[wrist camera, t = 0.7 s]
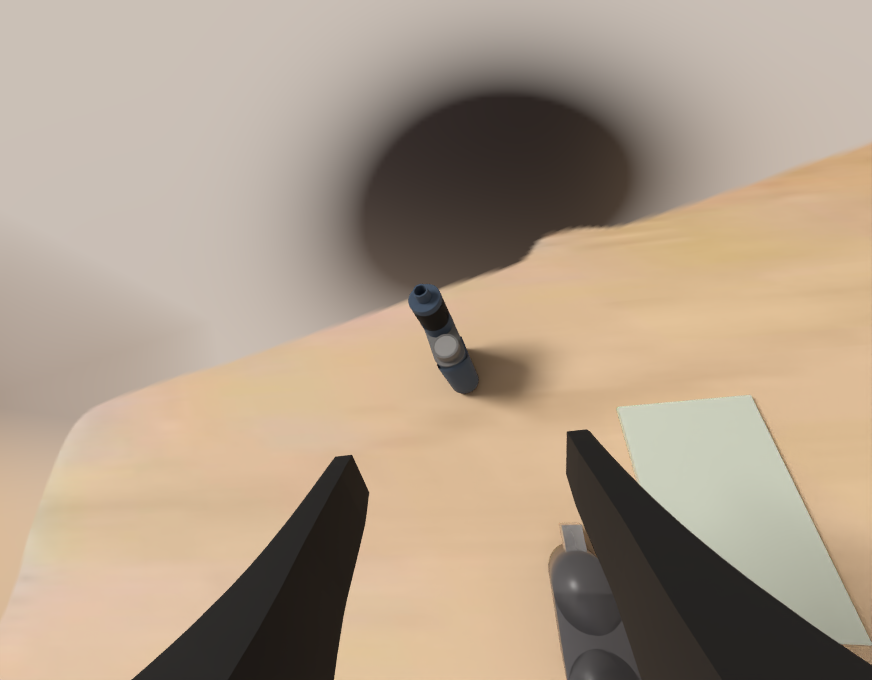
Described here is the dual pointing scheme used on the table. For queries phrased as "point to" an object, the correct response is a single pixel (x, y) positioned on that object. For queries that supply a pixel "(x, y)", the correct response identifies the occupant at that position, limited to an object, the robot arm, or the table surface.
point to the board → (739, 502)
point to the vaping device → (443, 338)
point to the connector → (587, 613)
